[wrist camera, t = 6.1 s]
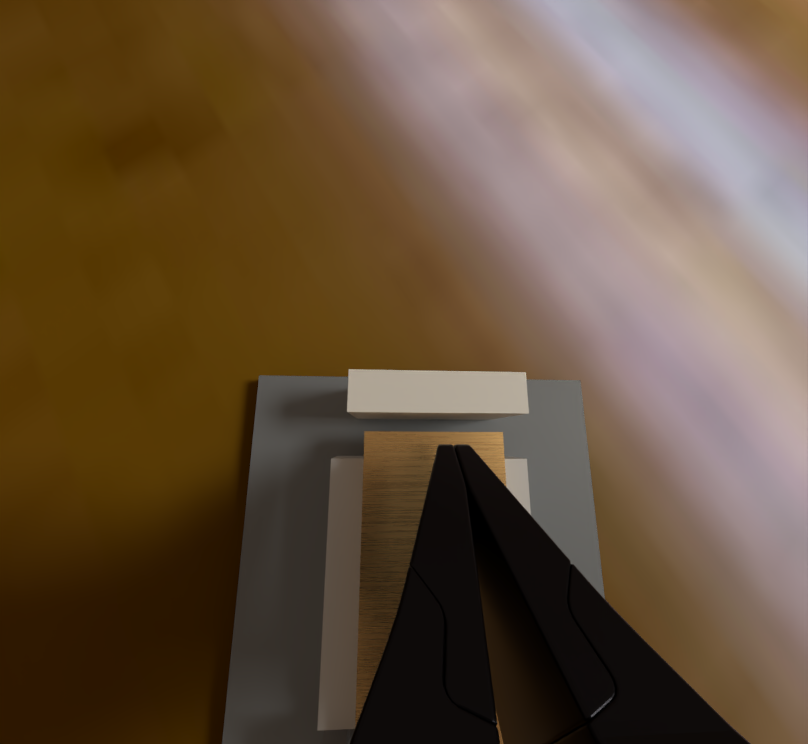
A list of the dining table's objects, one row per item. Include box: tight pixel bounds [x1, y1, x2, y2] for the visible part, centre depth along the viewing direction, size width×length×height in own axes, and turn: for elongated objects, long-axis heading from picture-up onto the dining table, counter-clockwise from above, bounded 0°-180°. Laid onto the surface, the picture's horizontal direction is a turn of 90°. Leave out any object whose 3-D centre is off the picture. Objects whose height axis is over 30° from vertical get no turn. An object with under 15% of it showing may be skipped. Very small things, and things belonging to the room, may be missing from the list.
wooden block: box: [355, 431, 506, 744], centre depth 10 cm, size 1×5×11 cm
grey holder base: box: [222, 369, 605, 744], centre depth 11 cm, size 17×15×5 cm
